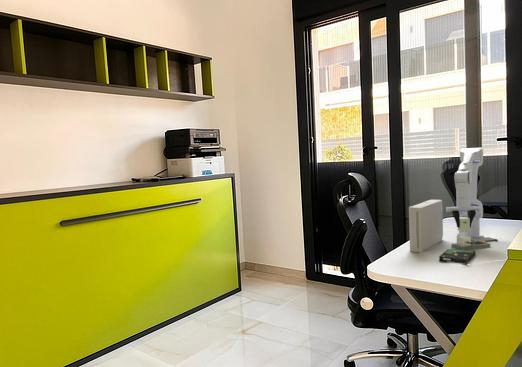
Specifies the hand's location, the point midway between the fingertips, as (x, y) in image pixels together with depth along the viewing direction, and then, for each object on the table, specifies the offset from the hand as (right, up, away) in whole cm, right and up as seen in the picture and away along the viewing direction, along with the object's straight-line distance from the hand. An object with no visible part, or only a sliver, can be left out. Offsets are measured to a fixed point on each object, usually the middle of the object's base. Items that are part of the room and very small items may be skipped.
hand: (463, 227), depth 182 cm
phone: (+12, -7, +5) cm, 15 cm away
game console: (-15, -9, +4) cm, 18 cm away
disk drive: (-12, -11, -19) cm, 26 cm away
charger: (0, -2, 0) cm, 2 cm away
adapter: (-2, -9, -7) cm, 11 cm away
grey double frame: (+1, -9, -5) cm, 10 cm away
